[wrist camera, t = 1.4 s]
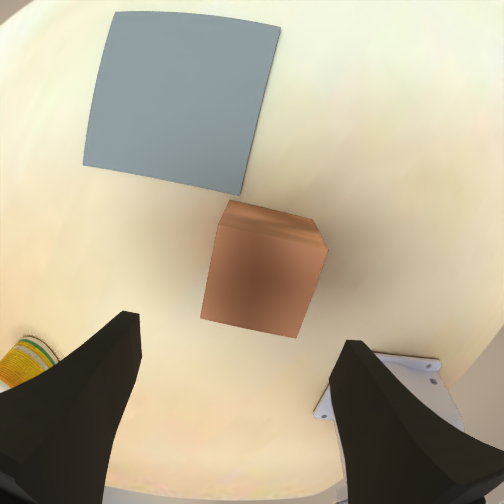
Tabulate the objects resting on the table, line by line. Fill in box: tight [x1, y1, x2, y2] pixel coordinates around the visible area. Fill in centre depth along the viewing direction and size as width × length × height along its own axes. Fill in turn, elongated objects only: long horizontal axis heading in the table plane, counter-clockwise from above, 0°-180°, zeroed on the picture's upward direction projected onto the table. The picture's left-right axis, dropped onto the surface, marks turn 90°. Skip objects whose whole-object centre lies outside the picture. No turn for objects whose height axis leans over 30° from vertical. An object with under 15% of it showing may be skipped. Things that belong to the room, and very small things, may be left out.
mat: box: [83, 11, 281, 196], centre depth 16 cm, size 10×10×1 cm
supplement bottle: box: [0, 337, 58, 393], centre depth 20 cm, size 5×5×10 cm
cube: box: [200, 200, 328, 338], centre depth 17 cm, size 5×5×5 cm
